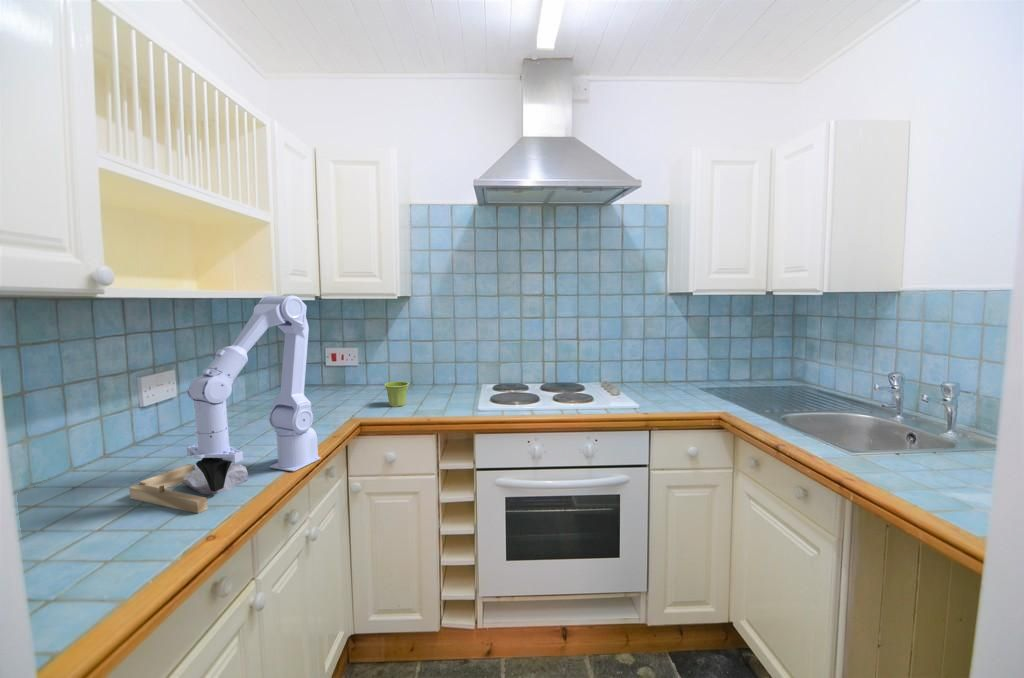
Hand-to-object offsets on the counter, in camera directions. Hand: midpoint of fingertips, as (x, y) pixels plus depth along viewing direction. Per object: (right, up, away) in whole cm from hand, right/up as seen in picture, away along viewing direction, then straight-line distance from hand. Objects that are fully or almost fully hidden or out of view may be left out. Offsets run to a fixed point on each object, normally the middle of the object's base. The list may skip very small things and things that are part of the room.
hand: (217, 489), depth 100 cm
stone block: (-5, -1, +6) cm, 8 cm away
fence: (-6, -1, +2) cm, 7 cm away
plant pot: (+20, +7, +79) cm, 82 cm away
